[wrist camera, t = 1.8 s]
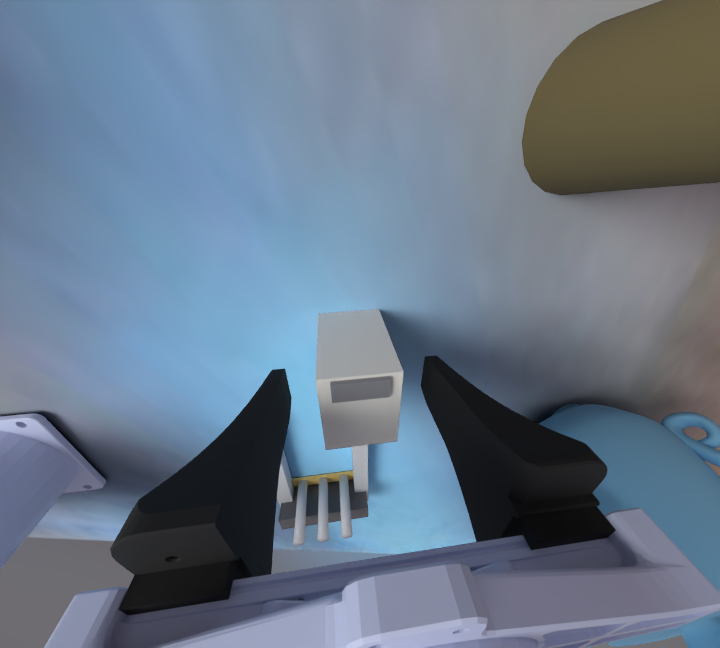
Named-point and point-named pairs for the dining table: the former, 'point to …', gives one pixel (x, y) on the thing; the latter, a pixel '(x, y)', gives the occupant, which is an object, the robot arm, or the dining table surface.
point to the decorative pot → (658, 488)
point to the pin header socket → (324, 498)
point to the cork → (631, 104)
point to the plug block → (357, 379)
